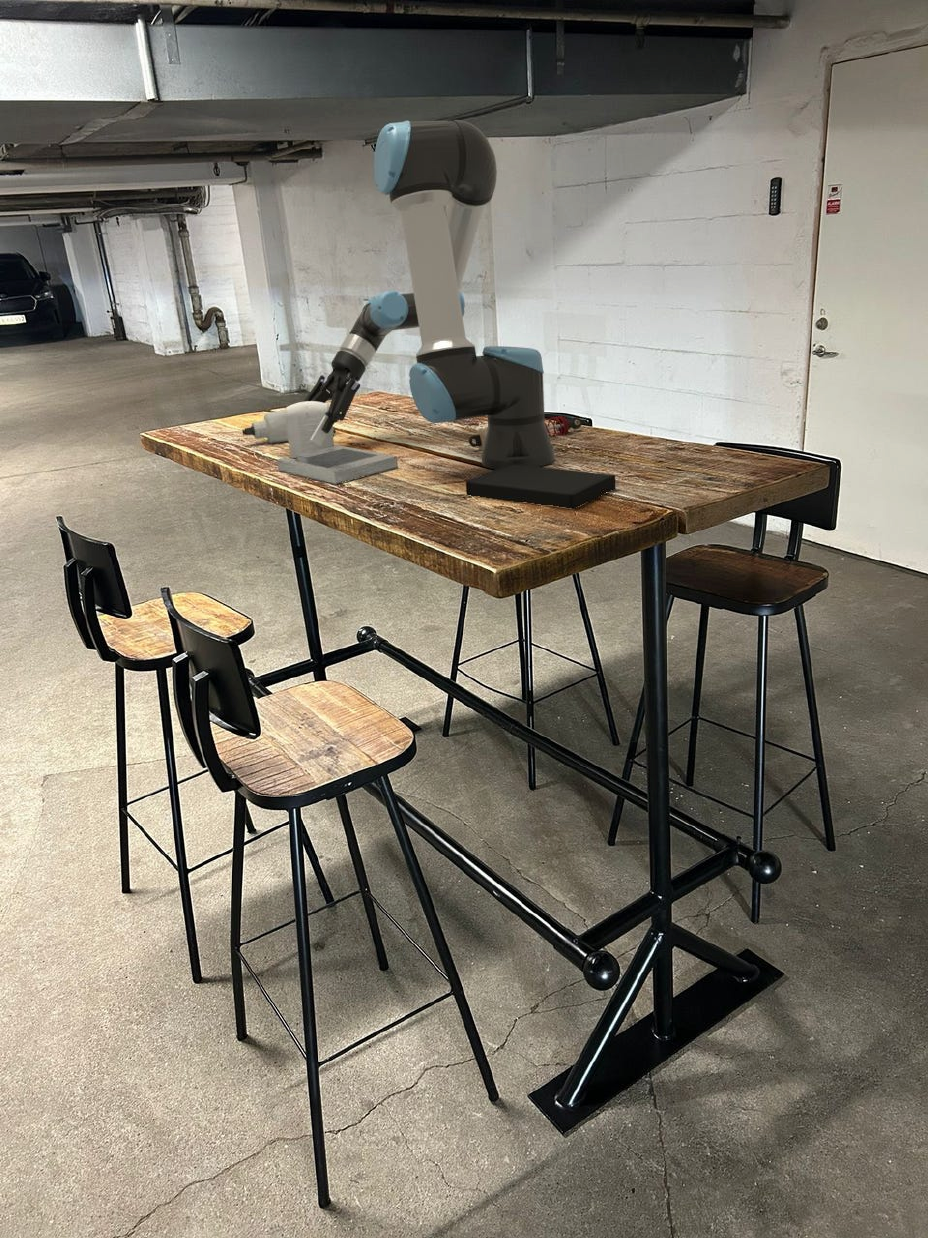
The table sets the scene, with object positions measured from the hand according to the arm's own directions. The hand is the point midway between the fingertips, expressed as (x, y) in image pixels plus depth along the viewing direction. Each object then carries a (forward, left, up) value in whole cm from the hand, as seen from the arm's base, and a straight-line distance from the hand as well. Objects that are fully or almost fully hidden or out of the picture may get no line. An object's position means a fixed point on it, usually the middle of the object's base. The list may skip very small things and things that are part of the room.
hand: (304, 441), depth 204 cm
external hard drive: (-67, -7, -4) cm, 68 cm away
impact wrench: (+30, -12, -4) cm, 32 cm away
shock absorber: (-34, -38, -4) cm, 51 cm away
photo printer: (0, -2, -4) cm, 4 cm away
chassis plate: (-17, +3, -4) cm, 18 cm away
